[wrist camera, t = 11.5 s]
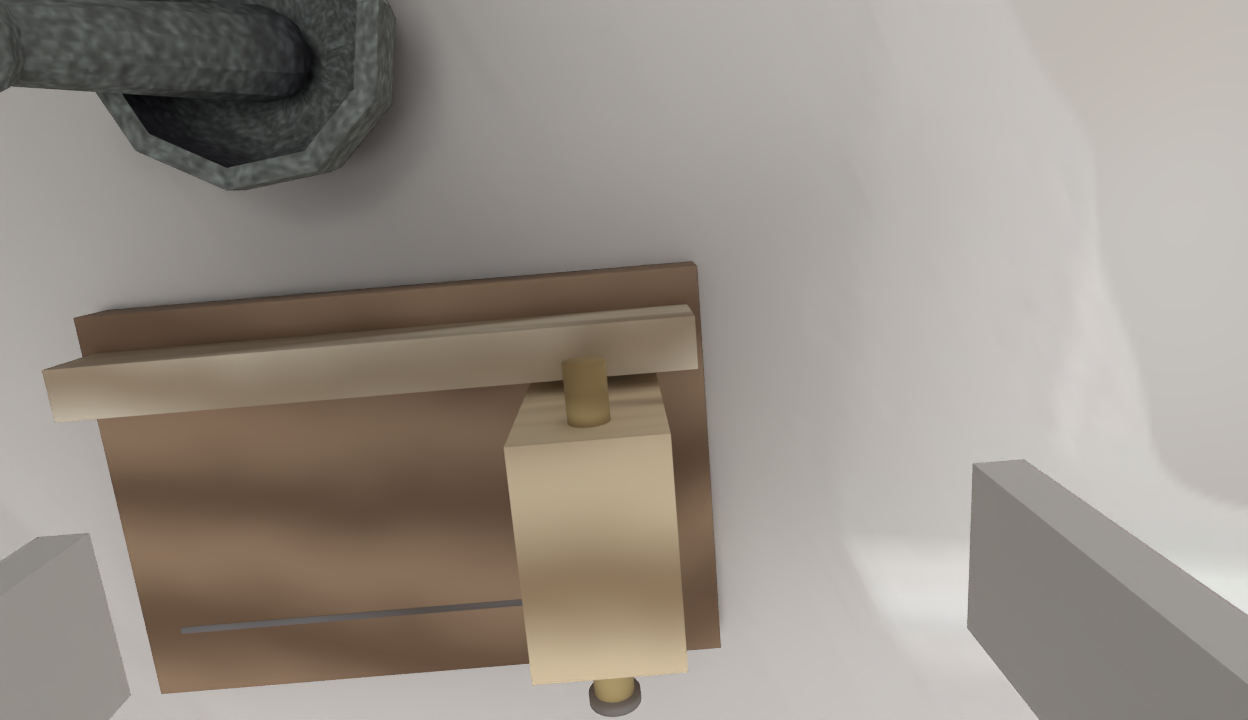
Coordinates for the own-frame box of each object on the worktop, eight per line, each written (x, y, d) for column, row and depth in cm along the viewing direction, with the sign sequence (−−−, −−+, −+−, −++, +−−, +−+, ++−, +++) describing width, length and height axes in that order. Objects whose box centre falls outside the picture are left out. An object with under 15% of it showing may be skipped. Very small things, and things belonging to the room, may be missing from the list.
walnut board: (105, 310, 33) (18, 331, 28) (692, 261, 33) (706, 273, 28) (185, 667, 37) (120, 739, 32) (714, 623, 37) (730, 689, 32)
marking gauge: (527, 329, 32) (495, 382, 23) (650, 318, 32) (666, 368, 23) (557, 603, 34) (539, 745, 26) (671, 593, 34) (692, 732, 26)
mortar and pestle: (397, -88, 30) (263, -264, 19) (457, 157, 32) (371, 138, 21) (116, -25, 31) (-189, -159, 19) (193, 214, 33) (-40, 228, 21)
